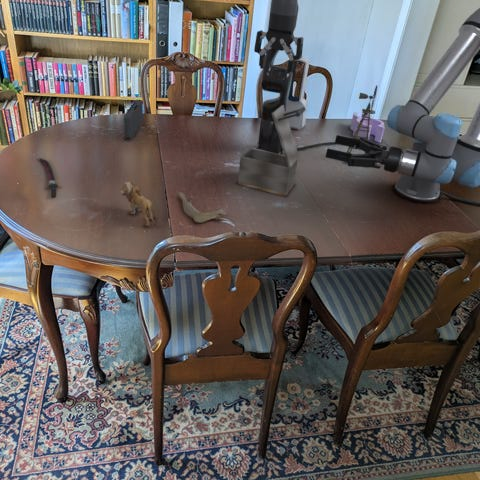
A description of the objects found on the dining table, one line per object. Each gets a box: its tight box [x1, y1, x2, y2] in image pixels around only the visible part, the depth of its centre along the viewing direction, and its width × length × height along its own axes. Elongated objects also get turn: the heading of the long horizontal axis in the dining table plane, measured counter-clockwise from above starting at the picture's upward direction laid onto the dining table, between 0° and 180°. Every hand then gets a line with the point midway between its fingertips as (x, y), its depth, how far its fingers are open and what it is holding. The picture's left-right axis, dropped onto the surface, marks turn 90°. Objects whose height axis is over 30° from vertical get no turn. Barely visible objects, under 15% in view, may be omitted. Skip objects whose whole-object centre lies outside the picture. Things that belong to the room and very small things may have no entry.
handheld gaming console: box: [123, 99, 144, 141], centre depth 190 cm, size 23×3×10 cm, turn 178°
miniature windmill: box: [344, 85, 378, 164], centre depth 179 cm, size 9×8×30 cm
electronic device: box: [286, 56, 310, 131], centre depth 208 cm, size 12×8×30 cm, turn 71°
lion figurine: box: [119, 181, 159, 227], centre depth 134 cm, size 15×5×9 cm, turn 50°
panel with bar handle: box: [272, 105, 307, 167], centre depth 149 cm, size 18×10×8 cm
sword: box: [40, 158, 59, 198], centre depth 151 cm, size 31×3×1 cm, turn 26°
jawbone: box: [177, 191, 228, 224], centre depth 141 cm, size 9×20×2 cm, turn 50°
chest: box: [237, 147, 299, 197], centre depth 159 cm, size 17×10×10 cm, turn 68°
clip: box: [349, 112, 386, 144], centre depth 214 cm, size 20×12×7 cm, turn 11°
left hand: (275, 70), depth 142 cm, fingers open, 8 cm apart
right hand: (331, 145), depth 147 cm, fingers open, 13 cm apart
